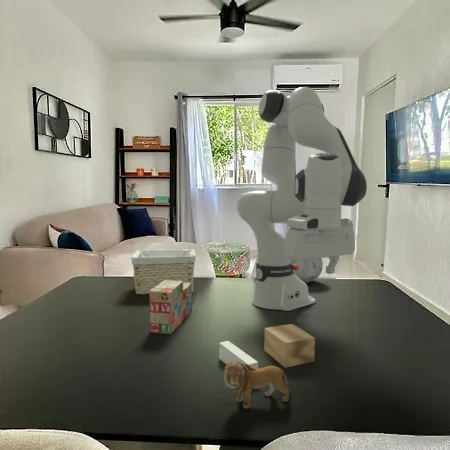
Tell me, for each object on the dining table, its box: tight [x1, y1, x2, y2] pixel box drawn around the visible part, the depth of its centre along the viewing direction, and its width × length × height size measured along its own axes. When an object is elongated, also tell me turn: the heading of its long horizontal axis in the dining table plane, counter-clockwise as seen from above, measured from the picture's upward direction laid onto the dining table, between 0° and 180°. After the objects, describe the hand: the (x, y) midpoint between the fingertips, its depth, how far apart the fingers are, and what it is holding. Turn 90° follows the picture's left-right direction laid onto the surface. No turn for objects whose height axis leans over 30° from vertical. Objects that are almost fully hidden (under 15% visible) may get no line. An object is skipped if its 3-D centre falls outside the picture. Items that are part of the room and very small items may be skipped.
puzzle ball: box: [290, 258, 324, 284], centre depth 168 cm, size 15×15×15 cm
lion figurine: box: [222, 361, 292, 410], centre depth 77 cm, size 15×5×9 cm, turn 114°
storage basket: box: [130, 248, 197, 295], centre depth 156 cm, size 24×16×15 cm
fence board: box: [218, 340, 259, 369], centre depth 91 cm, size 2×13×4 cm, turn 29°
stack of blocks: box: [148, 280, 193, 335], centre depth 121 cm, size 21×6×12 cm, turn 169°
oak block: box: [263, 323, 316, 368], centre depth 98 cm, size 8×10×6 cm
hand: (320, 274), depth 100 cm, fingers open, 5 cm apart
